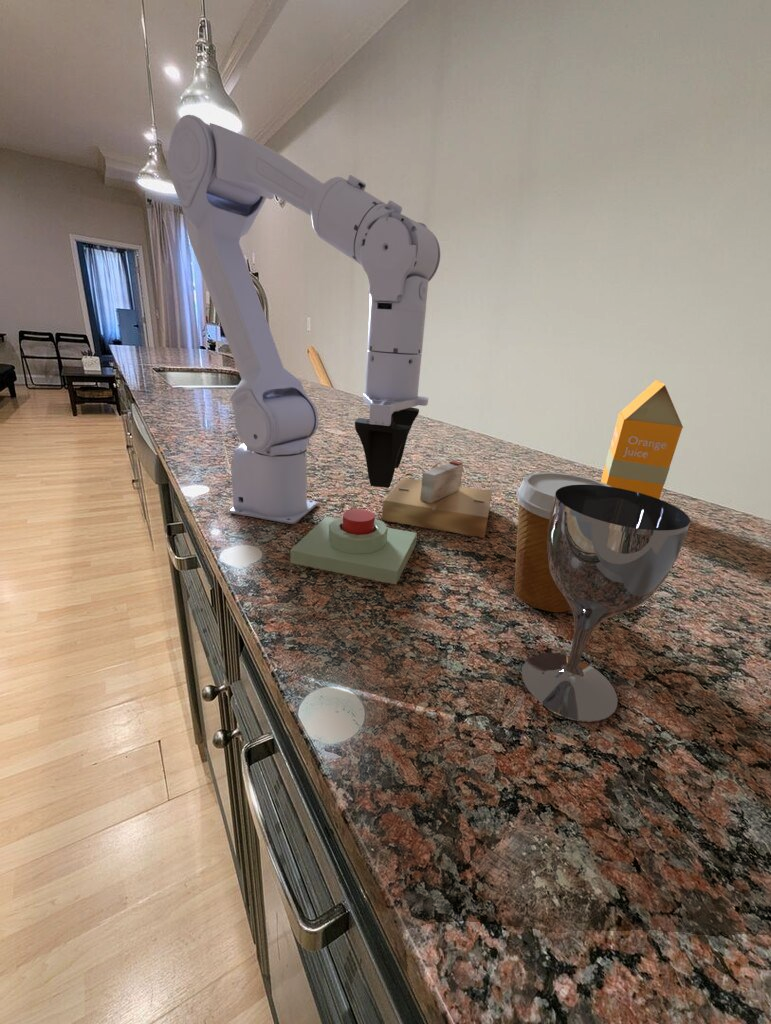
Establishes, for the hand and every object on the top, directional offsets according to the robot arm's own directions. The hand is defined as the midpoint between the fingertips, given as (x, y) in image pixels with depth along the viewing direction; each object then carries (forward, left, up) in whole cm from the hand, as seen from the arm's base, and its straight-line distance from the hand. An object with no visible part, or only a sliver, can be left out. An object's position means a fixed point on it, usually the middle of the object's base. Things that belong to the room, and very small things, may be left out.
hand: (385, 475), depth 52 cm
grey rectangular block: (+5, +12, -6) cm, 14 cm away
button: (-2, -4, -5) cm, 7 cm away
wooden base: (+5, +12, -9) cm, 16 cm away
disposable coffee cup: (+19, -5, -9) cm, 22 cm away
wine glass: (+20, -18, -9) cm, 29 cm away
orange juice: (+33, +28, -9) cm, 44 cm away
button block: (-2, -4, -9) cm, 10 cm away
